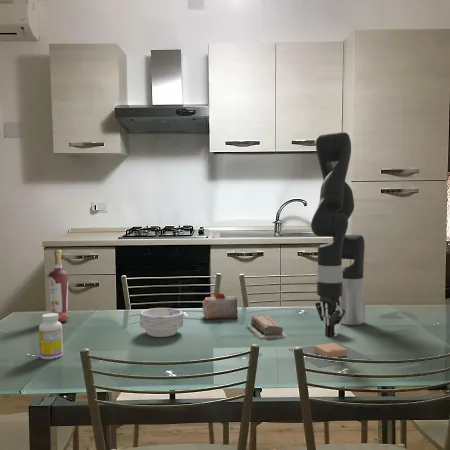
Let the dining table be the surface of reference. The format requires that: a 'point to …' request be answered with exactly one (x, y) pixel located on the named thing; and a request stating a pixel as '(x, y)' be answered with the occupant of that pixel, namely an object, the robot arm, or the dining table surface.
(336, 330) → the cup
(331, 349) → the tile
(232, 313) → the food item
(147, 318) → the paper bowls
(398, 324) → the dining table surface
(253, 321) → the packaged product
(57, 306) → the liquor
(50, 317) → the supplement bottle
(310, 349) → the mat
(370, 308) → the dining table surface
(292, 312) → the dining table surface
